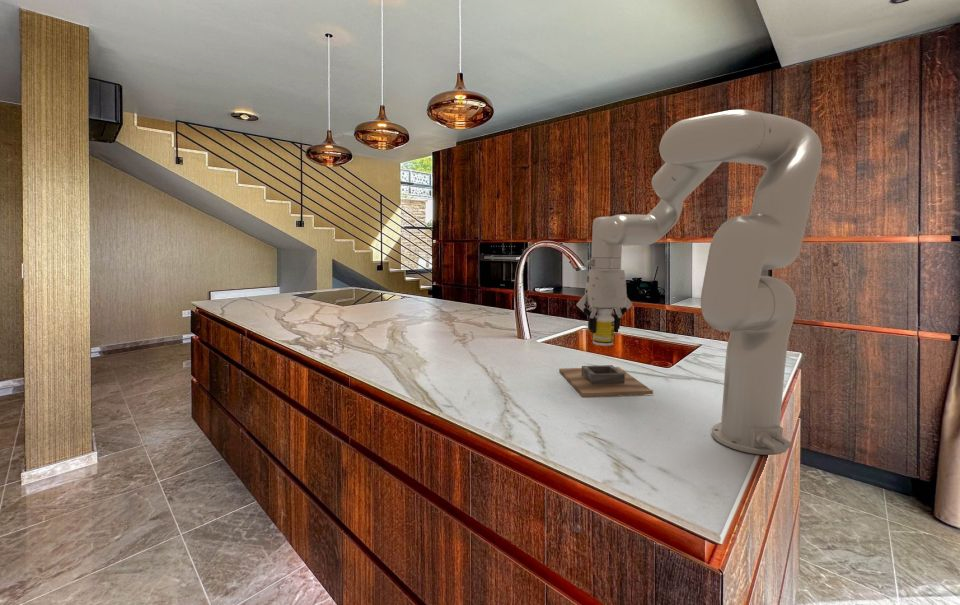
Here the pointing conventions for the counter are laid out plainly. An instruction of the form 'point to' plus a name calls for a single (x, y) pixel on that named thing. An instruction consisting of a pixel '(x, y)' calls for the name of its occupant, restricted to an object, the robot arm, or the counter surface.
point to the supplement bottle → (604, 327)
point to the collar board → (603, 381)
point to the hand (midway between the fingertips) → (603, 331)
